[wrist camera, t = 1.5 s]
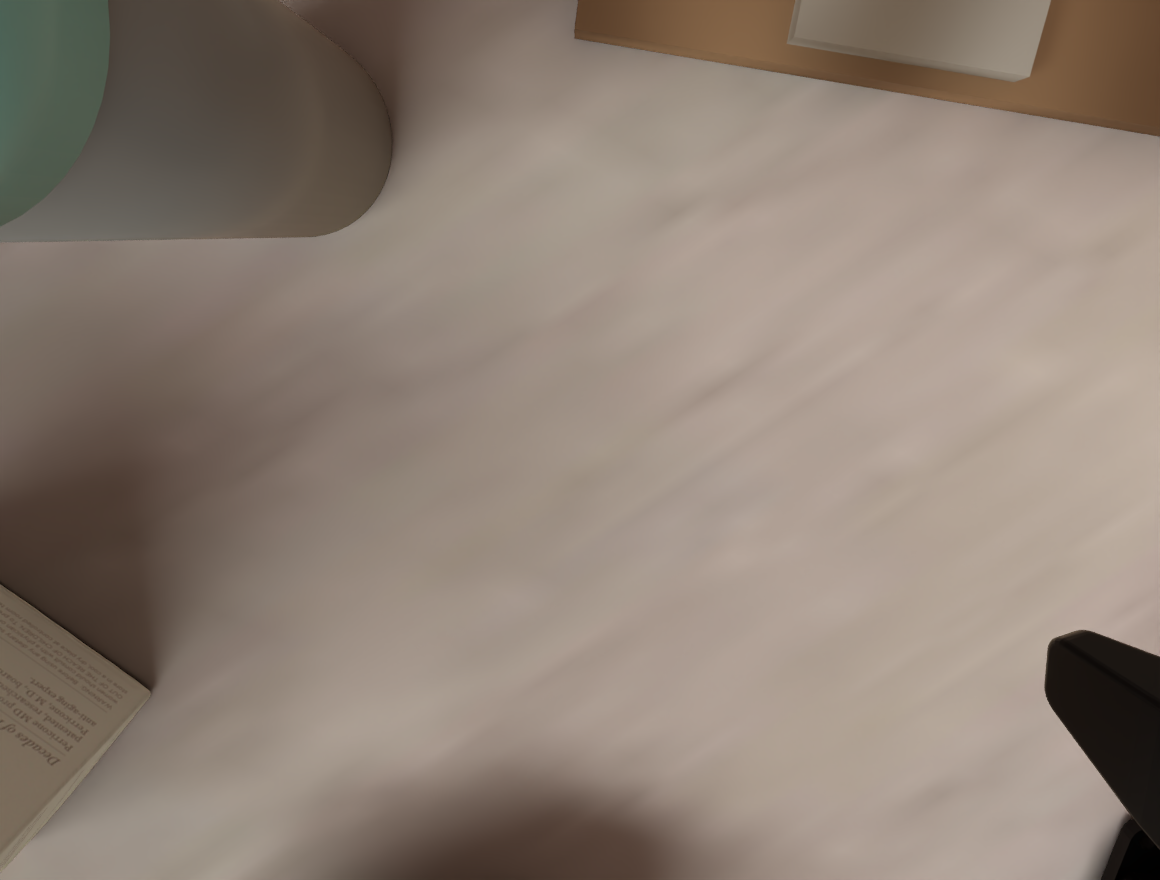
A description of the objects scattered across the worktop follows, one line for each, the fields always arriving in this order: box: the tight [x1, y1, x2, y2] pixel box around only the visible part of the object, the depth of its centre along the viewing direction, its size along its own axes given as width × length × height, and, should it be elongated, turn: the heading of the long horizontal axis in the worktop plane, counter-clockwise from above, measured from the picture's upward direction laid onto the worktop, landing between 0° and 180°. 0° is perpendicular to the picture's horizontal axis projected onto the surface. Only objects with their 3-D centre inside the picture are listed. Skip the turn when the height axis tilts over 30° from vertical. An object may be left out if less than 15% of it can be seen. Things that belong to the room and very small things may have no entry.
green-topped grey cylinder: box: [0, 0, 392, 242], centre depth 11 cm, size 4×4×13 cm
